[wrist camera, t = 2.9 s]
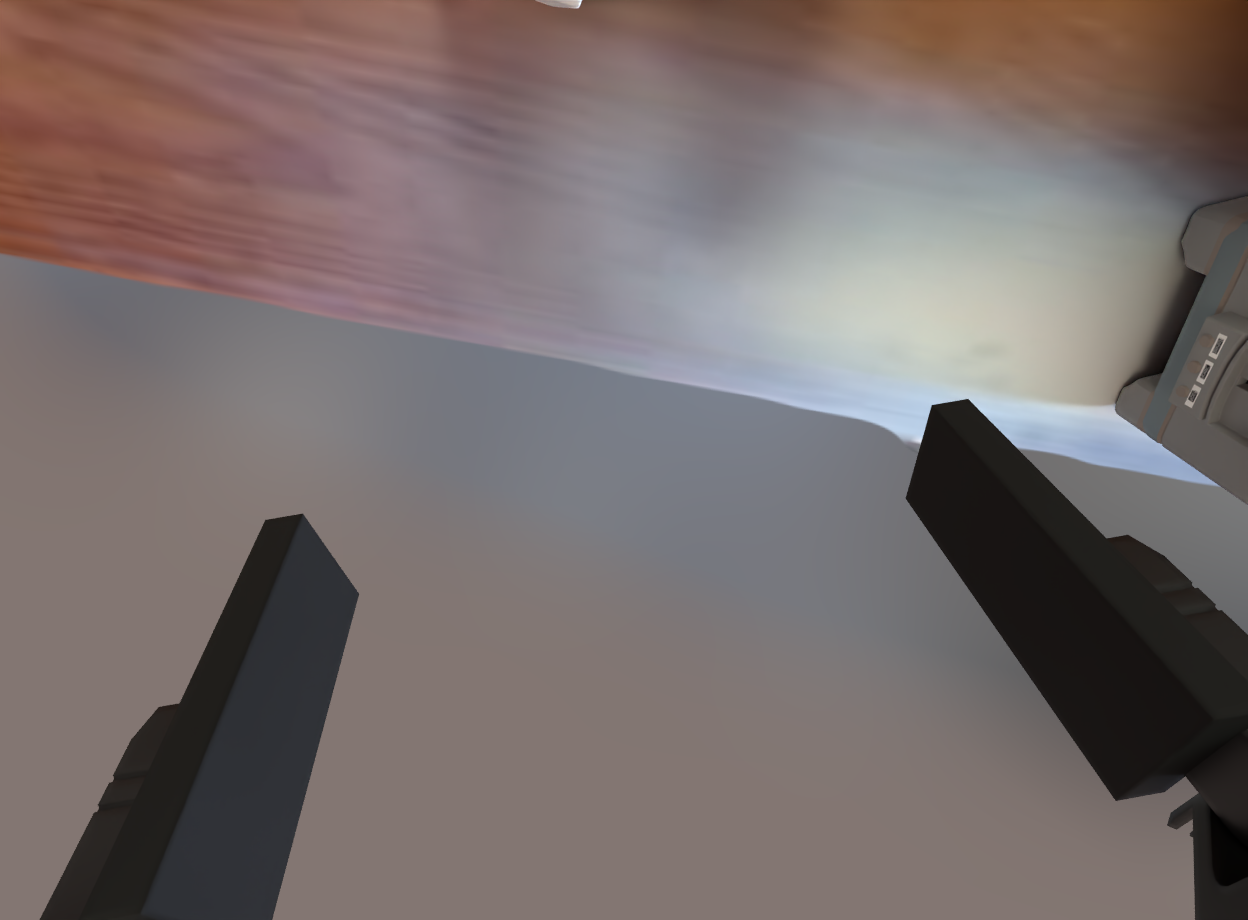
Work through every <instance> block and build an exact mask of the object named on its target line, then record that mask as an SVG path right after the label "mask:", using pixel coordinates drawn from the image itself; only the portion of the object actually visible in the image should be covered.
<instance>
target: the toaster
mask: <svg viewBox="0 0 1248 920" xmlns="http://www.w3.org/2000/svg"><path fill="white" fill-rule="evenodd" d="M1181 243H1182V247H1183V250H1184V257H1185V266H1186V267H1188V268H1189V269H1191V270H1194V271H1196V272H1199V273H1201V274H1204V275H1206V277H1205V279H1204V281H1203V283H1202V286H1201V288H1200V290H1199V292H1198V295H1197V297H1196V299H1195V301H1194V304H1193V306H1192V308H1191V310H1190V313H1189V315H1188V317H1187V319H1186V322H1185V324H1184V326H1183V328H1182V331H1181V333H1180V335H1179V337H1178V340H1177V342H1176V344H1175V346H1174V349H1173V351H1172V353H1171V355H1170V358H1169V360H1168V362H1167V364H1166V367H1165V369H1164V371H1163V373H1161V374H1157V375H1153V376H1148V377H1144V378H1140V379H1138V380H1137V381H1135V382H1134V383H1132V384H1131V385H1129V386H1126V387H1124V388H1123V389H1122V391H1121V393H1120V396H1119V398H1118V401H1117V403H1116V406H1115V411H1116V413H1117V414H1118V415H1119V416H1121V417H1122V418H1124V419H1125V420H1127V421H1128V422H1129V423H1131V424H1132V425H1134V426H1135V427H1137V428H1138V429H1140V430H1141V431H1142V432H1144V433H1146V434H1147V435H1148V436H1149V437H1150V438H1152V439H1153V440H1155V441H1156V442H1157V443H1161V444H1162V445H1163V447H1165V448H1166V449H1168V450H1169V451H1170V452H1172V453H1173V454H1175V455H1176V456H1178V457H1179V458H1181V459H1182V460H1183V461H1185V462H1186V463H1188V464H1189V465H1191V466H1192V467H1194V468H1195V469H1196V470H1198V471H1199V472H1201V473H1202V474H1204V475H1205V476H1207V477H1208V478H1209V479H1211V480H1212V481H1214V482H1215V483H1217V484H1218V485H1220V486H1221V487H1222V488H1224V489H1225V490H1227V491H1228V492H1230V493H1231V494H1233V495H1234V496H1235V497H1237V498H1239V499H1240V500H1241V501H1243V502H1244V503H1246V504H1247V505H1248V196H1246V197H1241V198H1237V199H1233V200H1229V201H1225V202H1221V203H1216V204H1212V205H1208V206H1205V207H1202V208H1200V209H1198V210H1197V211H1196V212H1195V213H1194V214H1193V215H1192V217H1191V219H1190V222H1189V224H1188V227H1187V229H1186V232H1185V234H1184V237H1183V239H1182V242H1181Z"/></svg>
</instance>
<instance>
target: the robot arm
mask: <svg viewBox="0 0 1248 920" xmlns="http://www.w3.org/2000/svg"><path fill="white" fill-rule="evenodd" d="M906 500H907V501H908V503H909V504H910V505H911V507H912V508H913V510H914V511H915V513H916V514H917V515H918V517H919V518H920V520H921V521H922V523H923V524H924V526H925V527H926V528H927V530H928V531H929V533H930V534H931V535H932V537H933V539H934V540H935V541H936V543H937V544H938V546H939V547H940V549H941V550H942V551H943V553H944V554H945V556H946V557H947V559H948V560H949V562H950V563H951V564H952V566H953V567H954V569H955V570H956V571H957V573H958V574H959V576H960V577H961V579H962V580H963V582H964V583H965V585H966V586H967V587H968V589H969V590H970V592H971V593H972V595H973V596H974V597H975V599H976V600H977V602H978V603H979V605H980V606H981V607H982V609H983V610H984V612H985V613H986V615H987V616H988V618H989V619H990V620H991V622H992V623H993V625H994V626H995V628H996V629H997V630H998V632H999V633H1000V635H1001V636H1002V638H1003V639H1004V641H1005V642H1006V644H1007V645H1008V646H1009V648H1010V649H1011V651H1012V652H1013V654H1014V655H1015V657H1016V658H1017V659H1018V661H1019V662H1020V664H1021V665H1022V667H1023V668H1024V669H1025V671H1026V672H1027V674H1028V675H1029V677H1030V678H1031V680H1032V681H1033V682H1034V684H1035V685H1036V687H1037V688H1038V690H1039V691H1040V692H1041V694H1042V695H1043V697H1044V698H1045V700H1046V701H1047V702H1048V704H1049V705H1050V707H1051V708H1052V710H1053V711H1054V713H1055V714H1056V715H1057V717H1058V718H1059V720H1060V721H1061V723H1062V724H1063V726H1064V727H1065V728H1066V730H1067V731H1068V733H1069V734H1070V736H1071V737H1072V738H1073V740H1074V741H1075V743H1076V744H1077V746H1078V747H1079V749H1080V750H1081V751H1082V753H1083V754H1084V756H1085V757H1086V759H1087V760H1088V761H1089V763H1090V764H1091V766H1092V767H1093V769H1094V770H1095V772H1096V773H1097V774H1098V776H1099V777H1100V779H1101V780H1102V782H1103V783H1104V785H1105V786H1106V787H1107V789H1108V790H1109V792H1110V793H1111V795H1112V796H1113V798H1114V799H1115V800H1116V801H1118V800H1123V799H1129V798H1134V797H1139V796H1145V795H1151V794H1155V793H1162V792H1165V791H1166V790H1168V789H1169V788H1170V787H1172V786H1173V785H1174V784H1176V783H1177V782H1178V781H1180V780H1181V779H1182V778H1184V777H1185V776H1186V777H1187V779H1188V780H1189V781H1190V782H1191V784H1192V785H1193V786H1194V787H1195V789H1196V790H1197V791H1198V792H1199V793H1198V794H1197V795H1195V796H1194V797H1193V798H1191V799H1190V800H1188V801H1187V802H1186V803H1184V804H1183V805H1181V806H1180V807H1179V808H1177V809H1176V810H1174V811H1173V812H1171V814H1170V818H1169V821H1168V824H1167V825H1168V826H1170V827H1172V828H1174V829H1178V828H1179V827H1181V826H1183V825H1184V824H1186V823H1187V822H1189V821H1190V820H1192V819H1193V831H1192V832H1191V833H1190V836H1191V837H1193V845H1194V885H1195V920H1248V635H1247V634H1246V633H1245V632H1244V631H1243V630H1242V629H1241V628H1240V627H1239V626H1238V625H1237V624H1236V623H1235V622H1234V621H1232V620H1231V619H1230V618H1229V617H1228V616H1227V615H1226V614H1225V613H1224V612H1223V611H1222V610H1220V611H1219V610H1217V609H1216V608H1215V604H1214V603H1213V602H1212V601H1211V600H1210V599H1209V598H1208V597H1207V596H1206V595H1205V594H1204V593H1203V592H1202V591H1201V590H1200V589H1199V588H1194V587H1193V586H1192V582H1191V581H1190V580H1189V579H1188V578H1187V577H1186V576H1185V575H1184V574H1183V573H1182V572H1180V570H1178V569H1177V568H1176V567H1175V566H1174V565H1173V564H1172V563H1171V562H1170V561H1169V560H1168V559H1167V558H1166V557H1165V556H1163V555H1161V554H1160V553H1158V552H1157V551H1154V550H1153V549H1151V548H1150V547H1148V546H1146V545H1144V544H1143V543H1141V542H1139V541H1138V540H1136V539H1134V538H1132V537H1131V536H1129V535H1124V536H1119V537H1113V538H1107V539H1106V538H1105V537H1104V536H1103V535H1102V534H1101V533H1100V532H1099V531H1098V530H1097V529H1096V527H1094V526H1093V524H1092V523H1090V521H1088V520H1087V519H1086V517H1085V516H1084V515H1083V514H1082V513H1081V512H1079V510H1078V509H1077V508H1076V507H1075V506H1073V504H1072V503H1071V502H1070V501H1069V500H1068V499H1067V498H1066V497H1065V496H1064V495H1063V494H1062V493H1061V492H1059V490H1058V489H1057V488H1056V487H1055V486H1054V485H1053V484H1052V483H1051V482H1050V481H1049V480H1048V479H1047V478H1046V477H1045V476H1044V475H1043V474H1042V473H1041V472H1040V471H1039V470H1038V469H1037V468H1036V467H1035V466H1034V465H1033V464H1032V463H1031V462H1030V461H1029V460H1028V459H1027V458H1026V457H1025V456H1024V455H1023V454H1022V453H1021V452H1020V451H1019V450H1018V449H1017V448H1016V447H1015V446H1014V445H1013V444H1012V443H1011V442H1010V441H1009V440H1008V439H1007V438H1006V437H1005V436H1004V435H1003V434H1002V433H1001V432H1000V431H999V430H998V429H997V428H996V427H995V426H994V425H993V424H992V423H991V422H990V421H989V420H988V419H987V418H986V417H985V416H984V415H983V414H982V413H981V412H980V411H979V410H978V409H977V408H976V407H975V406H974V405H973V403H972V402H971V401H970V400H969V399H965V400H960V401H954V402H948V403H942V404H936V405H932V407H931V410H930V414H929V417H928V421H927V425H926V428H925V432H924V435H923V439H922V442H921V446H920V449H919V453H918V456H917V460H916V464H915V467H914V471H913V474H912V478H911V482H910V485H909V488H908V492H907V496H906ZM358 596H359V593H358V592H357V590H356V589H355V587H354V586H353V585H352V583H351V582H350V580H349V579H348V577H347V576H346V575H345V573H344V572H343V570H342V569H341V567H340V566H339V565H338V563H337V562H336V560H335V559H334V558H333V556H332V555H331V553H330V552H329V551H328V549H327V548H326V546H325V545H324V543H323V542H322V541H321V539H320V538H319V536H318V535H317V533H316V532H315V530H314V529H313V528H312V526H311V525H310V523H309V522H308V520H307V519H306V518H305V516H304V515H303V514H298V515H292V516H287V517H281V518H275V519H269V520H265V522H264V524H263V526H262V529H261V531H260V533H259V535H258V537H257V539H256V541H255V543H254V546H253V548H252V550H251V552H250V555H249V556H248V558H247V561H246V563H245V565H244V567H243V569H242V572H241V573H240V576H239V578H238V580H237V582H236V584H235V586H234V588H233V590H232V593H231V595H230V597H229V599H228V601H227V603H226V606H225V608H224V610H223V612H222V614H221V616H220V618H219V620H218V623H217V625H216V627H215V629H214V631H213V633H212V636H211V638H210V640H209V642H208V644H207V646H206V648H205V650H204V652H203V655H202V657H201V659H200V661H199V663H198V665H197V668H196V670H195V672H194V674H193V676H192V678H191V680H190V683H189V685H188V687H187V689H186V691H185V693H184V695H183V697H182V700H181V702H180V703H179V704H174V705H168V706H162V707H159V708H158V709H157V710H156V711H155V712H154V714H153V715H152V716H151V717H150V718H149V719H148V721H147V722H146V723H145V724H144V725H143V726H142V728H141V729H140V730H139V731H138V732H137V734H136V735H135V736H134V737H133V738H132V739H131V741H130V743H129V745H128V747H127V749H126V751H125V753H124V755H123V757H122V759H121V761H120V763H119V765H118V767H117V769H116V771H115V773H114V775H113V776H114V780H113V782H111V783H109V784H108V786H107V788H106V790H105V792H104V794H103V796H102V798H101V800H100V802H99V804H98V806H99V810H98V811H97V812H95V813H94V814H93V816H92V818H91V820H90V822H89V824H88V826H87V828H86V830H85V832H84V834H83V836H82V837H81V840H80V841H79V843H78V845H77V847H76V849H75V851H74V853H73V855H72V857H71V859H70V861H69V863H68V865H67V867H66V869H65V871H64V873H63V875H62V877H61V879H60V881H59V883H58V885H57V887H56V889H55V891H54V893H53V895H52V897H51V899H50V900H49V903H48V904H47V906H46V908H45V911H44V912H43V914H42V916H41V918H40V920H272V918H273V914H274V911H275V907H276V903H277V899H278V895H279V892H280V888H281V884H282V881H283V877H284V873H285V869H286V866H287V862H288V858H289V854H290V851H291V847H292V843H293V839H294V836H295V832H296V828H297V824H298V820H299V817H300V813H301V809H302V805H303V802H304V798H305V794H306V791H307V787H308V783H309V779H310V776H311V772H312V768H313V764H314V761H315V757H316V753H317V749H318V745H319V742H320V738H321V734H322V731H323V727H324V723H325V719H326V716H327V712H328V708H329V704H330V701H331V697H332V693H333V689H334V685H335V682H336V678H337V674H338V671H339V666H340V663H341V659H342V656H343V652H344V648H345V644H346V641H347V637H348V633H349V629H350V625H351V622H352V618H353V614H354V611H355V607H356V603H357V599H358Z"/></svg>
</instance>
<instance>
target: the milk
mask: <svg viewBox="0 0 1248 920" xmlns="http://www.w3.org/2000/svg"><path fill="white" fill-rule="evenodd" d="M535 1H538V2H541V3H544V4H546V5H549V6H552V7H563V8H576V9H577V8H579V7H580V4H581V1H582V0H535Z"/></svg>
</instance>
